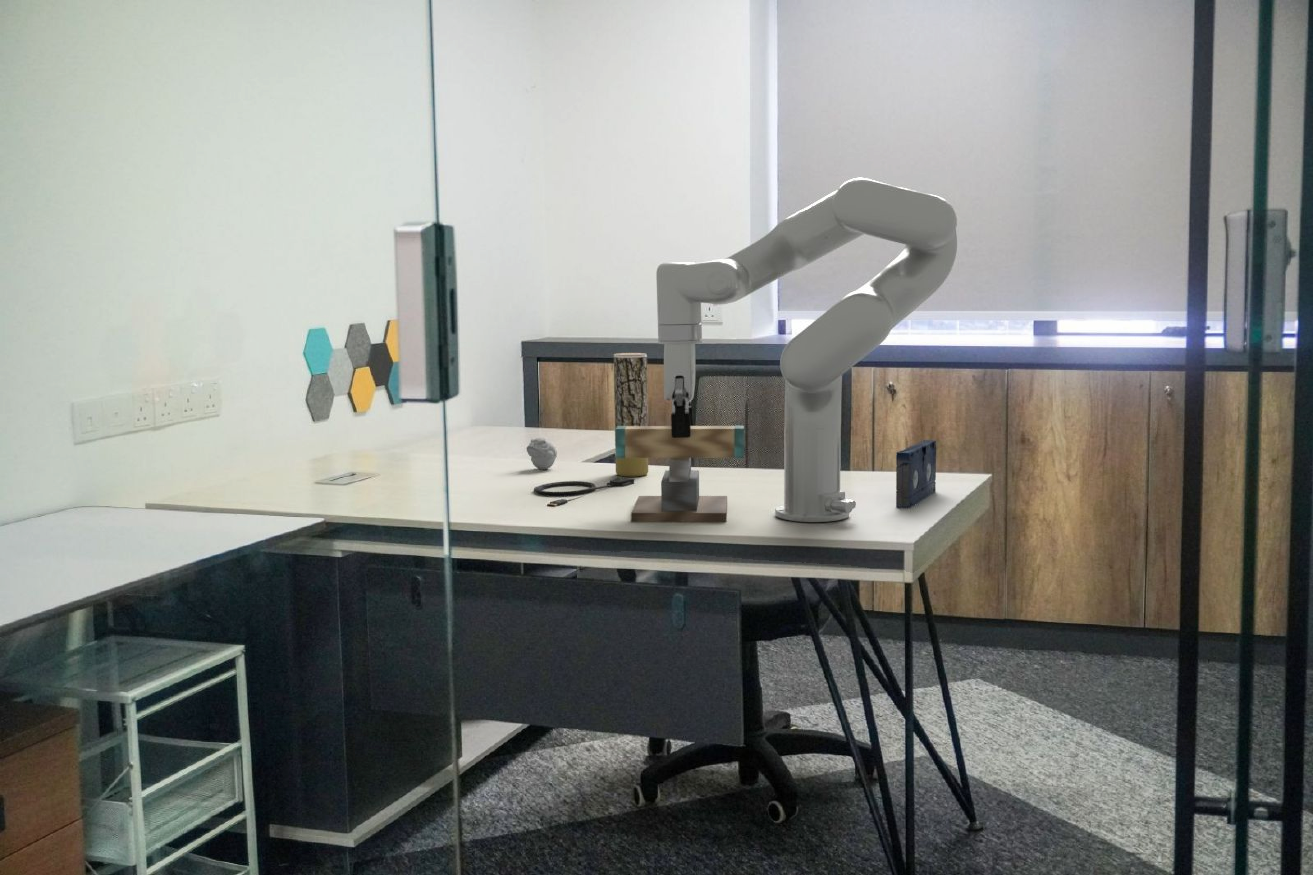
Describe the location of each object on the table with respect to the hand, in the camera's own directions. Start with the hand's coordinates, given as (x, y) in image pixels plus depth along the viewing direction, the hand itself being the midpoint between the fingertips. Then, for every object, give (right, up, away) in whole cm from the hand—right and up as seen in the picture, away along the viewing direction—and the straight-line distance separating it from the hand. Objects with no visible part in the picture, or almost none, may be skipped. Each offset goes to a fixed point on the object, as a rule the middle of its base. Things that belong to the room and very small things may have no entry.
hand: (682, 433), depth 219 cm
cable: (-21, -12, +24) cm, 34 cm away
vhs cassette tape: (+43, -12, +12) cm, 46 cm away
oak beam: (0, -4, +1) cm, 4 cm away
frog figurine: (-29, -8, +51) cm, 59 cm away
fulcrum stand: (0, -14, +2) cm, 14 cm away
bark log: (-10, -9, +43) cm, 45 cm away
